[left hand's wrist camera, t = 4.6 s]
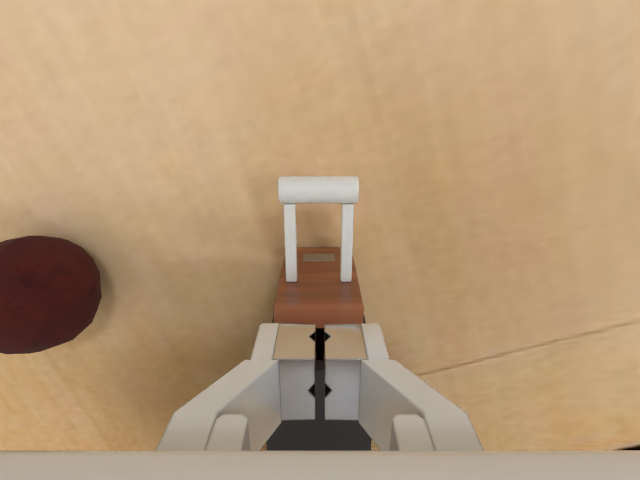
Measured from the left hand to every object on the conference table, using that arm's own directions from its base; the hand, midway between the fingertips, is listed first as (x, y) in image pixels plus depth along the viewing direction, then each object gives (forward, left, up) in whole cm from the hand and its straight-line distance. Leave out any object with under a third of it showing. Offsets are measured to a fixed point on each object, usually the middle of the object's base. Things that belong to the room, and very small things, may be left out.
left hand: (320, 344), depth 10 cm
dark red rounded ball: (+9, +16, -16) cm, 25 cm away
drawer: (-6, +6, -15) cm, 17 cm away
